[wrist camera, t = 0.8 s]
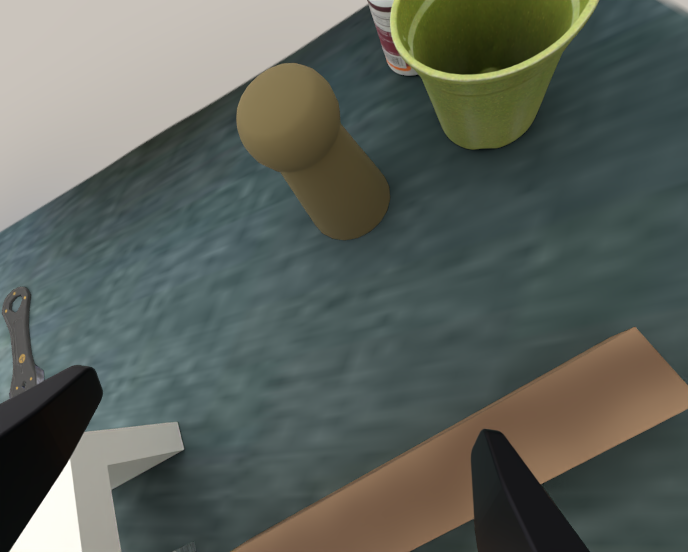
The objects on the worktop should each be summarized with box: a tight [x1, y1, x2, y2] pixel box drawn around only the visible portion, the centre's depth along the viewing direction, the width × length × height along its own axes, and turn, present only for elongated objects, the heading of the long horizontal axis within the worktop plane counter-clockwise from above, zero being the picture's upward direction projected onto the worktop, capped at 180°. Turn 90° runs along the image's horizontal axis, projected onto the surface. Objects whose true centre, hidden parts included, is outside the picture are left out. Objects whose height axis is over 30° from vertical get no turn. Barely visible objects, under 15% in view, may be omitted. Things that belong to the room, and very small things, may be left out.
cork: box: [237, 63, 390, 240], centre depth 23 cm, size 6×6×11 cm
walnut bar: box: [230, 327, 688, 552], centre depth 20 cm, size 4×24×4 cm, turn 119°
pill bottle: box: [367, 0, 418, 76], centre depth 25 cm, size 5×5×8 cm
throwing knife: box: [2, 287, 44, 398], centre depth 34 cm, size 4×20×1 cm, turn 27°
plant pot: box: [390, 0, 599, 150], centre depth 22 cm, size 9×9×9 cm
